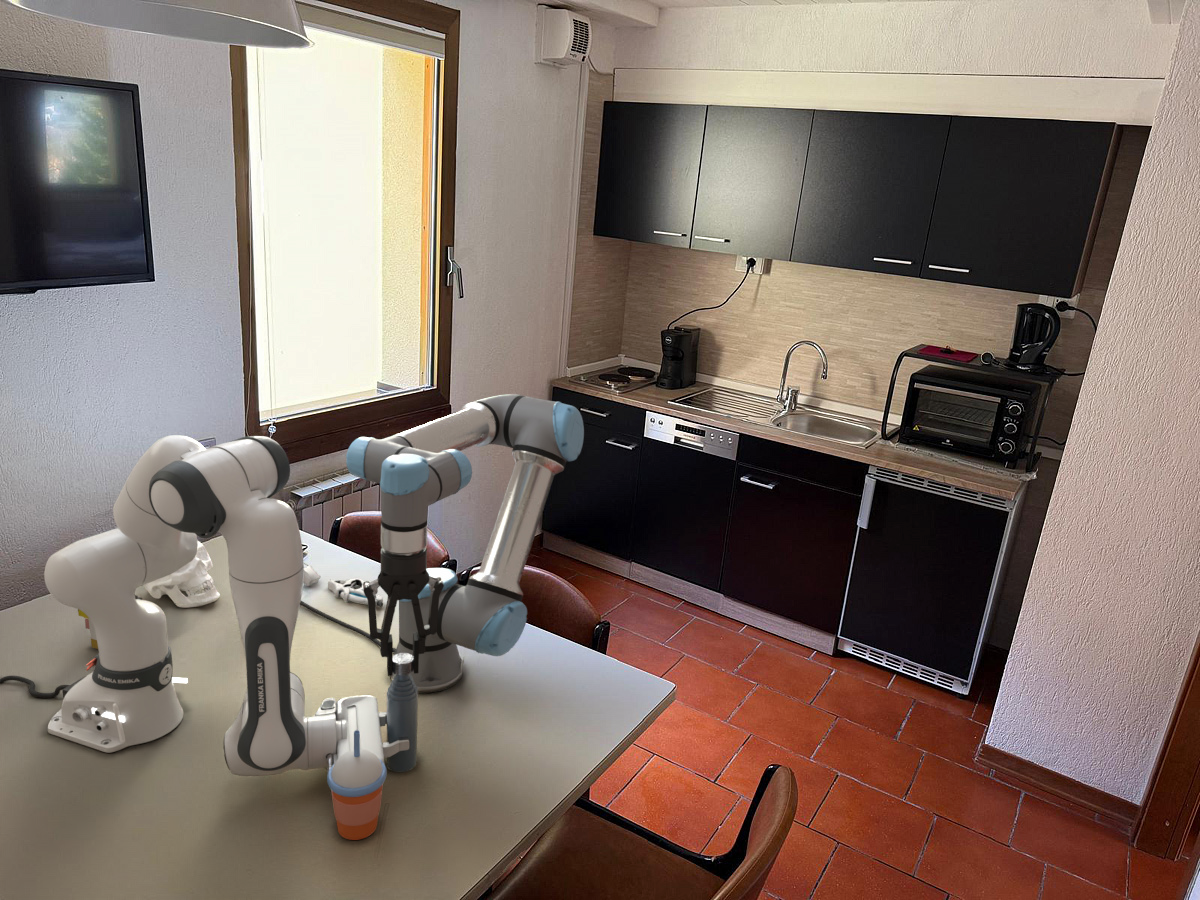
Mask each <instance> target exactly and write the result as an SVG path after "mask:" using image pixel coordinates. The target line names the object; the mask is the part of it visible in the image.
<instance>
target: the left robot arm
mask: <svg viewBox="0 0 1200 900" xmlns="http://www.w3.org/2000/svg"><path fill="white" fill-rule="evenodd" d="M290 476H291V465H290V460H289V457H288V455H287V453H286V451H285V450H284V449H283V447H282V446H281V444H279V443H278V442H277V441H275V440H274V439H273V438H271V437H269V436H266V435H265V436H264V435H251V436H250V435H249V436H243V437H239V438H236V439H234V440H230V441H228V442H227V441H226V442H223V443H220V444H216V445H212V446H210V447H207V448H205V447H204V446H203V445H202V444H201V443H200V442H199V441H198V440H196V439H194V438H193V437H189V436H186V435H180V434H171V435H165V436H163V437H161V438H159V439H157V440H156V441H154V442H153V443H152V444H151V445H150V446H149V448H147V450H146V451H144V453H143V454H142V455H141V457H140V458H139V459H138V460H137V462H136V464H135V465H134V466H133V468H132V470H131V471H130V473H129V475H128V477H127V479H126V481H125V482H124V484H123V486H122V488H121V491H120V492H119V494H118V497H117V498H116V500H115V502H114V504H113V510H112V515H113V519H114V523H115V525H116V527H115V528H113V529H109V530H107V531H104V532H101V533H98V534H95V535H90V536H88V537H84V538H82V539H78V540H77V541H74V542H72V543H71V544H68V545H67V546H65V547H63V548H61V549H60V550H58V551H56V552H54V553H53V554H51V555H50V556H49V557H48V559H47V561H46V563H45V567H44V573H43V576H44V577H43V578H44V583H45V587H46V589H47V591H48V592H49V594H50V595H51V597H53V598H54V599H55V600H56V601H57V602H59V603H61V604H63V605H64V606H67V607H70V608H74V609H77V610H78V609H79V610H81V611H82V612H84V613H85V614H86V615H87V616H88V617H89V618H90V620H91V621H92V623H93V626H94V629H95V633H96V638H97V643H98V649H97V650H98V654H96V655H95V656H93V657H94V658H93V659H91V660H90V661H89V662H88V663H87V664H86V665H85V667H87V668H86V669H85V670H86V672H88V671H89V670H91V669H92V668H93V667H94V669H93V671H92V672H91V673H89V674H88V675H85V676H83V677H81V678H80V679H78V680H76V681H74V682H72V683H71V684H61V685H58V686H56V688H55V689H54V691H52V692H39V691H36V690H35V689H36V685H35V681H33V680H31V679H29V678H28V677H27V678H26V677H23V676H20V675H6V676H3V677H1V678H0V684H3V683H4V682H7V681H17V682H21V683H24V684H27V685H28V692H29V694H30V695H31V696H33V697H36V698H42V699H50V698H55V697H57V696H58V695H60V693H61V691H62V698H63V700H62V702H61V708H60V709H59V710H58V711H57V712H56V713H55V714H54V715H53V716H52V717H51V719H50V720H49V722H48V725H47V733H48V734H50V735H53V736H55V737H59V738H62V739H65V740H67V741H71V742H74V743H77V744H79V745H83V746H84V747H85V746H86V747H89V748H91V749H94V750H97V751H100V752H103V753H107V754H108V753H109V754H111V753H114V752H118V751H121V750H122V749H125V748H127V747H131V746H135V745H140V744H144V743H149V742H151V741H155V740H157V739H160V738H162V737H163V736H165V735H168V734H169V733H171V732H172V731H173V730H174V729H175V728H177V727H178V726H179V724H180V723H181V722H182V720H183V718H184V709H183V707H182V705H181V702H180V700H179V698H178V695H177V692H176V688H175V684H174V683H176V684H177V683H178V684H188V683H189V680H188V677H173V669H174V667H173V665H174V664H173V656H172V649H171V647H170V646H169V639H168V628H167V617H166V614H165V612H164V610H162V608H161V607H160V606H159V605H157V604H156V603H154V602H153V601H149V600H145V599H142V600H140V599H135V595H136V590H137V589H138V588H140V587H142V586H143V585H144V584H147V583H150V582H152V581H155V580H157V579H160V578H162V577H165V576H167V575H170V574H172V573H174V572H175V571H177V570H179V569H180V568H182V567H183V566H185V565H186V564H188V563H189V562H191V561H192V560H193V559H194V558H195V556H196V553H197V549H198V541H199V540H198V537H199V538H201V539H210V538H213V537H214V536H216V534H217V533H219V534H220V535H221V536H222V537H223V538H224V540H225V543H226V548H227V563H228V578H229V586H230V592H231V597H232V602H233V606H234V610H235V614H236V619H237V622H238V627H239V631H240V636H241V641H242V645H243V651H244V656H245V667H246V668H245V669H246V691H245V694H244V698H243V701H242V704H241V707H240V709H239V712H238V714H237V716H236V718H235V720H234V721H233V723H232V725H231V726H229V728H228V729H227V730H226V731H225V733H224V737H223V742H222V743H223V754H224V755H223V756H224V762H225V764H226V767H227V769H228V770H229V771H230V773H231V774H233V775H236V776H241V777H265V776H273V775H274V776H275V775H281V774H284V773H287V772H289V771H293V770H302V771H312V770H319V769H320V770H321V769H326V774H327V775H328V772H329V770H330V768H331V767H332V765H333V764H334V763H335V762H336V761H337V760H338V759H339V758H340V757H341V756H342V755H343V754H345V753H346V752H348V751H351V750H354V731H356V730H358V731H360V749H364V750H368V751H370V752H372V753H374V754H375V755H376V756H377V757H378V758H379V759H380V760H381V761H382V762H383V763H384V764H385V758H386V759H387V757H390V756H392V755H394V754H396V753H397V752H399V751H403V750H408V749H409V738H408V737H398V741H395V742H393V743H391V744H389V742H387V741H384V742H383V738H382V730H381V728H383V727H386V725H387V711H379V704H378V703H379V702H378V698H377V697H376V696H375V695H370V694H362V695H361V694H360V695H350V696H344V697H341V698H339V699H337V700H336V698H335V697H326V698H324V699H323V700H322V702H321V704H320V705H319V707H318V709H317V710H316V712H315V714H314V715H311V716H305V710H306V709H305V708H306V707H305V705H306V702H305V701H306V700H305V699H306V698H305V697H306V696H305V689H304V685H303V681H302V680H301V678H300V677H299V676H298V675H297V674H296V673H293V672H292V671H291V653H292V645H293V639H294V634H295V629H296V625H297V620H298V615H299V610H300V607H301V605H300V601H302V595H303V590H304V589H303V588H304V582H303V579H304V568H305V564H304V563H305V562H304V550H303V541H302V536H301V531H300V528H299V524H298V519H297V517H296V513H295V511H294V509H293V508H292V507H291V506H290V505H289V504H288V503H286V502H284V501H282V500H280V499H277V498H272V497H273V496H275V495H276V494H278V493H279V492H280V491H281V490H282V489H284V487H286V485H287V484H288V482H289V479H290Z"/></svg>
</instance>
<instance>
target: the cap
mask: <svg viewBox="0 0 1200 900" xmlns="http://www.w3.org/2000/svg"><path fill="white" fill-rule="evenodd" d="M413 670H414V657H413V655H411V654H409V653H399V654H396V655H394V654H393V673H394V674H396V675H408V674H410V673H412V672H413Z"/></svg>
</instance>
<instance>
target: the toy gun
mask: <svg viewBox="0 0 1200 900" xmlns="http://www.w3.org/2000/svg"><path fill="white" fill-rule="evenodd" d="M364 582H365V581H363V580H362V579H360V578H353V579H352V578H351V579H342V580H341V579H340V580H339V579H338V580H334V579H328V581H327V589H328V590H329V591H331V592H332V593H334V597H336V599H340V598H342V599H343V601H344V602H345V603H349V602H352V603H356V604H359V605H367V606H368V600H367V598H366V596H365V594H364V591H363V583H364ZM356 586H358V588H356V589H355V588H354V587H356ZM359 587H360V588H359ZM383 601H384V597H383V596H381V595H379V594H376V595H375V603H376V608H377V607H380V608H382V607H383V606H384V602H383Z"/></svg>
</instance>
